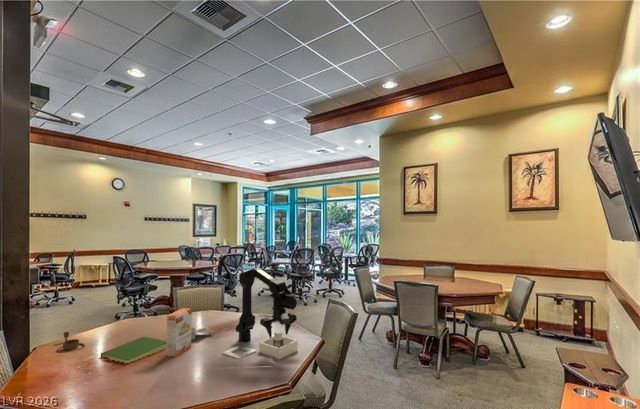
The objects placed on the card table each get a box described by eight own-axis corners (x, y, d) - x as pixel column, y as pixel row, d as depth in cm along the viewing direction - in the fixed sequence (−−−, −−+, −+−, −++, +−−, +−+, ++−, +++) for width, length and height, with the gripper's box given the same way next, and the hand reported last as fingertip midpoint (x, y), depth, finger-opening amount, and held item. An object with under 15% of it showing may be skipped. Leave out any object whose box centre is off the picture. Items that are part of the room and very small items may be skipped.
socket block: (222, 355, 172) (222, 352, 172) (240, 348, 182) (240, 344, 182) (238, 362, 165) (238, 358, 165) (256, 353, 175) (256, 350, 175)
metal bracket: (204, 329, 194) (179, 327, 196) (203, 340, 192) (178, 338, 194) (215, 328, 207) (192, 326, 209) (213, 338, 206) (190, 337, 208)
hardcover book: (143, 343, 190) (143, 336, 190) (168, 348, 183) (168, 341, 183) (99, 361, 167) (99, 354, 167) (126, 368, 160) (126, 360, 160)
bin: (259, 353, 175) (259, 342, 175) (277, 344, 187) (277, 334, 187) (279, 360, 167) (279, 348, 167) (297, 350, 178) (297, 340, 178)
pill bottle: (275, 354, 173) (275, 334, 173) (271, 350, 178) (271, 331, 178) (285, 351, 176) (285, 332, 176) (281, 348, 180) (281, 329, 181)
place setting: (45, 357, 172) (45, 345, 172) (63, 342, 191) (63, 332, 191) (85, 353, 176) (85, 342, 176) (98, 339, 196) (98, 329, 196)
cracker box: (176, 358, 170) (176, 316, 170) (165, 357, 171) (165, 315, 171) (192, 347, 183) (192, 308, 184) (182, 346, 184) (182, 307, 185)
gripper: (269, 313, 165) (269, 345, 165) (302, 306, 176) (302, 337, 175) (259, 307, 174) (259, 338, 174) (291, 302, 185) (291, 331, 185)
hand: (278, 336), depth 177 cm, fingers open, 9 cm apart
